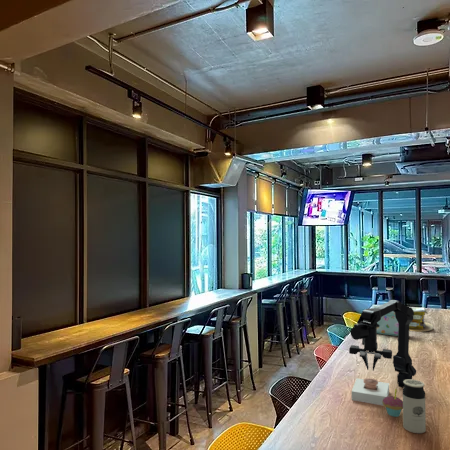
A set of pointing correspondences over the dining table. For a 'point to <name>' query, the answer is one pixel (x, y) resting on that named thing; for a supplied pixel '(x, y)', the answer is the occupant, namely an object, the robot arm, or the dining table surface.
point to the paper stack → (419, 321)
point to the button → (370, 383)
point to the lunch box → (388, 324)
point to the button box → (369, 392)
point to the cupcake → (393, 405)
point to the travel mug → (414, 406)
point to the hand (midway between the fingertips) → (370, 370)
